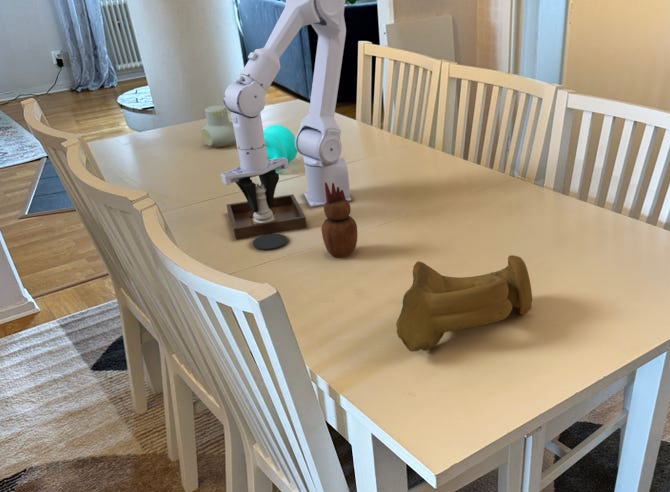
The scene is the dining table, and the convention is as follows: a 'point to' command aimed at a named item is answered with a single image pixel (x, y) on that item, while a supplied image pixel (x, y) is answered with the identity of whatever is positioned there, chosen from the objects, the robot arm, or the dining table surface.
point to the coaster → (270, 241)
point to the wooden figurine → (338, 224)
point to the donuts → (279, 143)
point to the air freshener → (218, 127)
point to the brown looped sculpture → (459, 302)
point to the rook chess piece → (262, 206)
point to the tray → (285, 214)
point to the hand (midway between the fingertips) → (262, 208)
